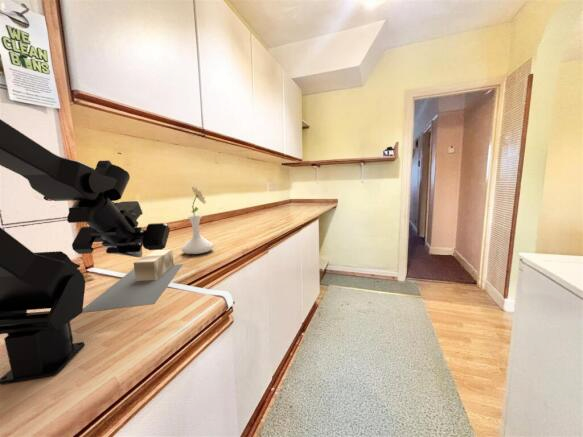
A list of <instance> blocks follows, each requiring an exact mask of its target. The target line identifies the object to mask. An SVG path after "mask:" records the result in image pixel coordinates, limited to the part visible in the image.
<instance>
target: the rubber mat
mask: <svg viewBox="0 0 583 437" xmlns="http://www.w3.org/2000/svg"><path fill="white" fill-rule="evenodd" d="M182 267H183V263H180V264H174V265H173V266H172V267H171V268H169V269H168V270H167V271H166V272H165V273H163V274H162V275H161V276H160V277H159V278H157V279H156V280H146V281H136V278H135V270H134V268H133V269H131V270H130V271H129V272H127V273H126V274H125V275H124V276H122V277H121V278H119V280H118V281H116V282H115V283H114V284H112V285H111V286H110V287H109V288H107V289H106V290H105V291H104V292H102V293H101V294H99V295H98V296H97V297H96V298H94V299H93V300H92V301H90V302H89V303H88V304H87V305H86V306H85V307H84V306H83V311H82V313H90V312H99V311H107V310H116V309H122V308H123V309H124V308H133V307H141V306H148V305H156V303H157V301H158V300H159V299H160V297H161V296H162V294H164V292H165V290H166V289H167V287H168V286H169V285H170V284H171V282H172V281H173V279H174V278H175V276H176V275H177V274H178V272H179V271H180V269H181V268H182ZM82 313H81V314H82Z"/></svg>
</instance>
